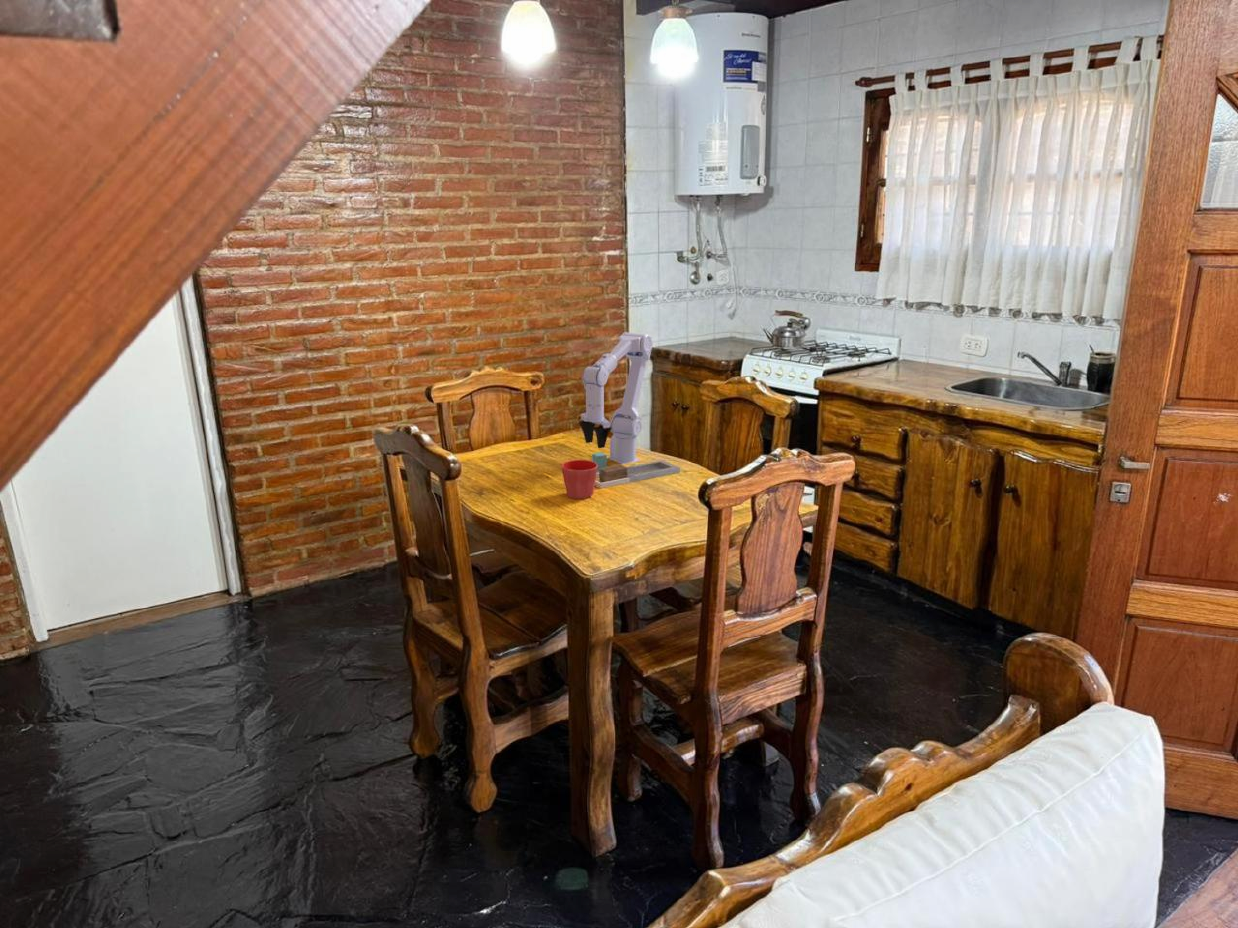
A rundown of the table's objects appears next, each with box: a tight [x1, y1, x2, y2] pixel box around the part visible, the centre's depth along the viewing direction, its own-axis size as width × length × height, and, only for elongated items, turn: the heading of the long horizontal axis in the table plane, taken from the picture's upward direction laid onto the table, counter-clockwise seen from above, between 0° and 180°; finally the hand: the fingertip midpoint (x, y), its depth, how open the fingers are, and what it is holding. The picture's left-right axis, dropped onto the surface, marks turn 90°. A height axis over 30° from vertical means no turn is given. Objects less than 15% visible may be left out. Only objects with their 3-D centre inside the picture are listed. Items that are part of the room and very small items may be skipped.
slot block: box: [626, 459, 681, 483], centre depth 273 cm, size 10×20×2 cm, turn 123°
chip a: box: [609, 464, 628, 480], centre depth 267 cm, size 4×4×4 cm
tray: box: [594, 473, 631, 489], centre depth 265 cm, size 10×11×2 cm
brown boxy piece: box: [598, 466, 617, 483], centre depth 265 cm, size 4×4×4 cm
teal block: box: [591, 452, 608, 473], centre depth 274 cm, size 6×5×6 cm
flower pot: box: [561, 459, 598, 500], centre depth 252 cm, size 11×11×10 cm
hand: (595, 444), depth 271 cm, fingers open, 7 cm apart
